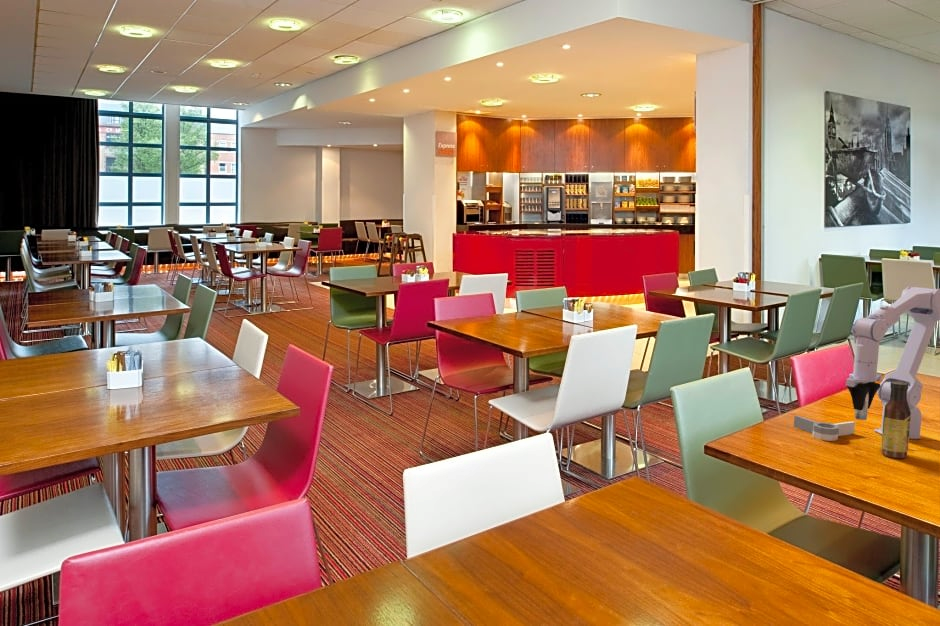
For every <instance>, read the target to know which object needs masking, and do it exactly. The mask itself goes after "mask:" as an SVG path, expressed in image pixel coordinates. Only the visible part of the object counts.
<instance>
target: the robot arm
mask: <svg viewBox="0 0 940 626" xmlns="http://www.w3.org/2000/svg"><path fill="white" fill-rule="evenodd" d="M905 313H907V314H908V316H909V317H911V318H912V319H913V320H914V323H913V326H912V328H911V330H910V333H909V336H908V338H907V340H906V343H905V346H904V348H903V350H902V354H901V356H900V357H899V361H898V364H897V367H896V369H895V370H892V371H891V372H889V373H886V374H885V375H884V378H883V374H881V373H877V371H878V361H879V352H880V341H881V340H883V339H884V337H885V335H886V333H887V332H888V330H889V329H890V328H891V327H893V326H894V325H896V324H897V323H898V322H899V321H900V316H902V315H903V314H905ZM938 321H940V288H927V287H918V286H913V285H912V286H910V285H909V286H907V287H906V288H905V289H903V290H902V292H901V296H900V297H899V298H898V299H896V301H894V302H893V303H892V304H891V305H883V304H882V305H881V306H879V308H878V309H877V310H875V311H874V312H872V313H870V314H869V315H868V316H866V317H859V318H858V319H856V320H855V321H854V323H853V326H852V328H851V332H852V336H853V344H855V349H854V358H853V359H854V360H853V369H852V370H853V371H852V373H849V374H848V378H846V380H845V387H847V389H848V391H849V393H850V397H851V400H852V406H853V409H854V410H855V409H856V410H862V409H863V407H864V402H865V398H866V395H867V393H868V391H869V400H868V409H869V410H870V408H871V405H872V402H873V400H874V398H875V395H876V393H877V397H878V399H879V400H880V403H881V404H882V405H883V407H882V417H881V425H880V428H874V429H873V430H874V432H876V433H878V434H880V435H882V430H883V417H884V411H885V405H886V404H887V403H888V401H889V400H890V396H891V387H890V386H891V382H895V381H896V382H904V383H908V390H907V402H908V405H909V409H910V412H911V419H910V433H909V440H910V439H913V440H914V439H915V440H916V439H917V440H918V439H922V436H920V435H921V427H922V426H921V425H922V411H921V409H920V408H919V407H918V405H919V404H920V401H921V398H922V389H923V387H924V386H923V383H922V382H921V380H920V379H918V377H917V375H918V372H919V369H920V366H921V363H922V361H923V359H924V356H925V354H926V350H927V347H928V345H929V343H930V340H931V338H932V335H933V332H934V329H935V327H936V324H937V322H938ZM882 379H883V380H882ZM877 382H880V383H877Z"/></svg>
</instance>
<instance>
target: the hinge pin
mask: <svg viewBox="0 0 940 626" xmlns="http://www.w3.org/2000/svg"><path fill="white" fill-rule="evenodd" d="M868 400H869V391H868V393H867V395H866V398H865V402H864V407H863V409H862V410H856V409H854V410H855V411H854V419H856V420H860V421H867V419H868Z"/></svg>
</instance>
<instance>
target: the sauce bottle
mask: <svg viewBox="0 0 940 626" xmlns="http://www.w3.org/2000/svg"><path fill="white" fill-rule="evenodd" d="M890 387H891V396H890V400H889V401H888V403H887V404H886V405H885V411H884V417H883V430H882V434H881V447H880V449H881V454H882V455H883V456H885V457H888V458H893V459H905V458H907V457H908V452H909V442H910V439H909V433H910V419H911V412H910V409H909V405H908V402H907V390H908V383H904V382H896V381H895V382H891V386H890Z"/></svg>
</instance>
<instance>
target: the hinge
mask: <svg viewBox="0 0 940 626" xmlns="http://www.w3.org/2000/svg"><path fill="white" fill-rule="evenodd" d="M795 427H797V428H796V429H798V428H799V429H798V430H801V429H802V430H801V431H804V430H805V431H804V432H808V433H810V434H812V438H814V439H818V440H820V441H828V442H833V441H838V440H839V437H841V436H847V435H848V436H849V435H854V434H855V429H856V428H855V427H856V421H854V420H853V421H845V422H837V423H831V422H823V421H819V422H818V421H816V420H812V419H808V418H807V417H803V416H801V415H797V414H796V415H794V417H793V428H795Z"/></svg>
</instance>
